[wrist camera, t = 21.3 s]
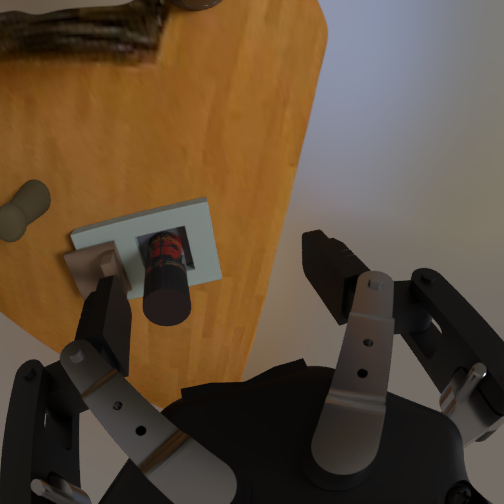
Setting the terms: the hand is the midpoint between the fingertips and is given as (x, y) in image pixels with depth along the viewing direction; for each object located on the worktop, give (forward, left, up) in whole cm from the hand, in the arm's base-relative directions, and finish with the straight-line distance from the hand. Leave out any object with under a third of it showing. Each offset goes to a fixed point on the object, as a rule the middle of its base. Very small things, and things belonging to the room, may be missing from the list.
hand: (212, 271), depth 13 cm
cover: (+16, -18, -31) cm, 39 cm away
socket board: (+16, -9, -33) cm, 38 cm away
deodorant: (+16, -6, -33) cm, 37 cm away
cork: (+2, -25, -33) cm, 42 cm away
